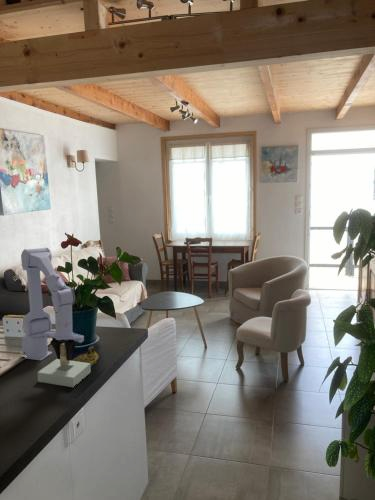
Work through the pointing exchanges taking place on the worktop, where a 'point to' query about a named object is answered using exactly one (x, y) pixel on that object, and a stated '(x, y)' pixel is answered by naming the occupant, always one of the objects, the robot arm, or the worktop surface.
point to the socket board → (64, 373)
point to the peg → (63, 355)
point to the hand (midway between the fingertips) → (64, 358)
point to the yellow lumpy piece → (88, 356)
